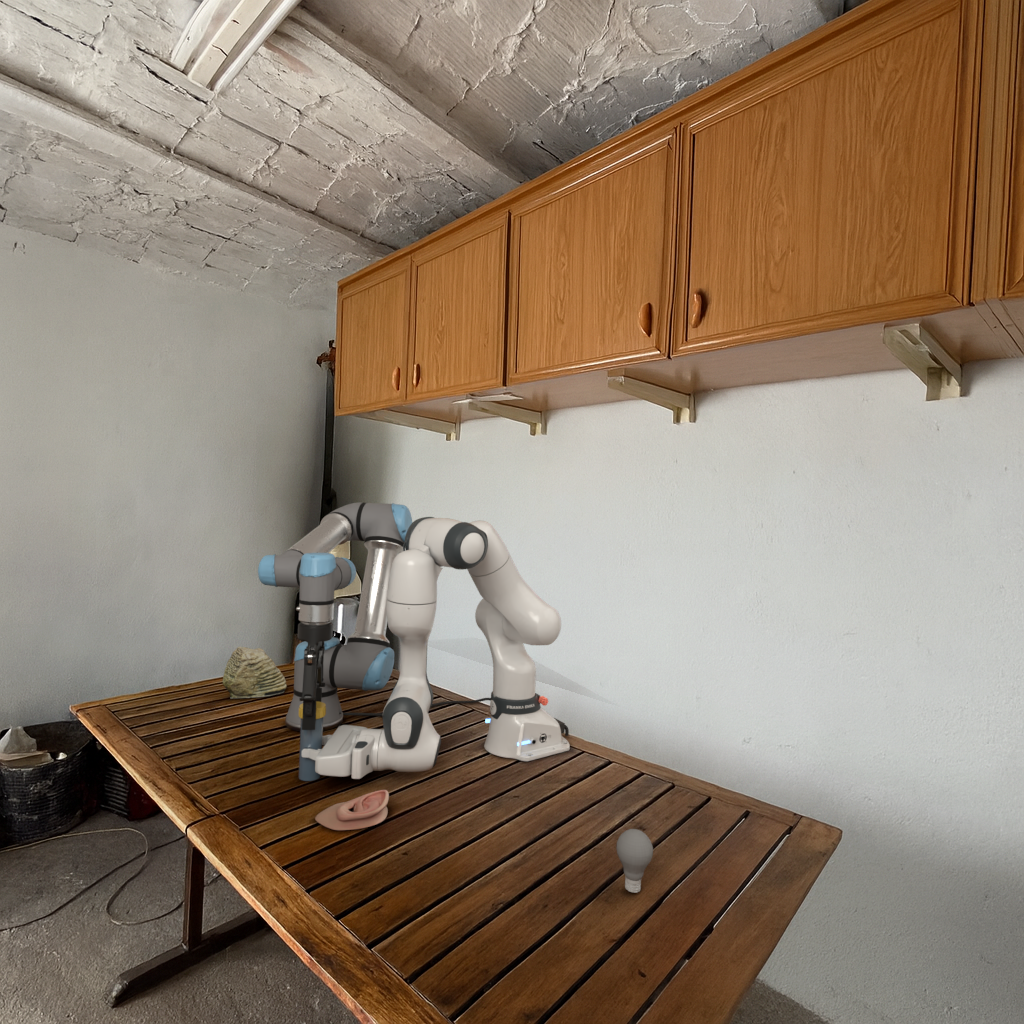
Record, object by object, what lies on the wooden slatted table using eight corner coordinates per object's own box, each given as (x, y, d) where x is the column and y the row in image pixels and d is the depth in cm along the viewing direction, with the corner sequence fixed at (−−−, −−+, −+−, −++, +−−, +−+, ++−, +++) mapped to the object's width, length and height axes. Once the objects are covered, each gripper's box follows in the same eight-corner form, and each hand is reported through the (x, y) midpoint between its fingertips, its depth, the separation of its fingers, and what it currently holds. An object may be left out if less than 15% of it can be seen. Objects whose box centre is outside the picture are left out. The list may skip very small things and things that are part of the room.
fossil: (218, 695, 195) (220, 647, 195) (278, 685, 208) (279, 640, 207) (228, 703, 189) (230, 653, 188) (289, 692, 201) (290, 645, 201)
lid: (293, 718, 141) (293, 707, 141) (307, 709, 146) (307, 700, 146) (317, 721, 139) (317, 710, 139) (330, 712, 145) (330, 702, 145)
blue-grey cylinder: (294, 779, 141) (296, 709, 141) (305, 770, 146) (308, 702, 146) (314, 782, 140) (316, 711, 140) (325, 773, 145) (327, 705, 145)
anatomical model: (307, 805, 121) (336, 780, 133) (306, 826, 121) (335, 798, 133) (372, 815, 119) (395, 788, 130) (371, 836, 119) (394, 807, 130)
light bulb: (610, 879, 108) (613, 822, 108) (644, 879, 109) (647, 822, 109) (619, 902, 102) (622, 840, 102) (655, 901, 103) (658, 840, 103)
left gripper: (306, 613, 152) (302, 707, 152) (289, 631, 132) (285, 740, 132) (338, 613, 153) (334, 707, 154) (326, 631, 133) (322, 739, 133)
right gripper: (378, 719, 153) (321, 717, 153) (358, 753, 133) (292, 750, 133) (377, 745, 154) (320, 743, 153) (357, 783, 133) (291, 780, 133)
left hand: (311, 722), depth 143 cm, fingers open, 8 cm apart
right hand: (306, 746), depth 143 cm, fingers closed on blue-grey cylinder, 5 cm apart
